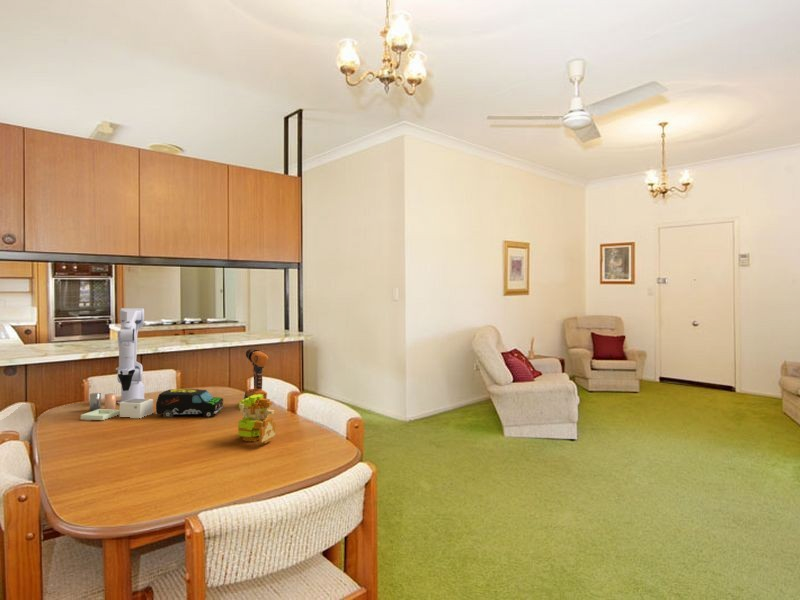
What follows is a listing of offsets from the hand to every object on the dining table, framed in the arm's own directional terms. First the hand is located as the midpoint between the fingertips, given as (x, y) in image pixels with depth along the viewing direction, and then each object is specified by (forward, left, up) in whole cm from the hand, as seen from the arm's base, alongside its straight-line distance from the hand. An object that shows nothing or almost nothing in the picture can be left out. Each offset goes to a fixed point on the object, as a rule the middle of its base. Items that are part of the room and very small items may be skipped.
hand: (126, 388), depth 200 cm
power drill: (-20, +48, -10) cm, 53 cm away
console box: (+7, +10, -9) cm, 15 cm away
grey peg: (+2, -13, -9) cm, 16 cm away
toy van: (+1, +30, -10) cm, 31 cm away
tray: (+12, -2, -9) cm, 15 cm away
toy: (+28, +71, -10) cm, 76 cm away
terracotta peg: (+2, -6, -9) cm, 12 cm away
